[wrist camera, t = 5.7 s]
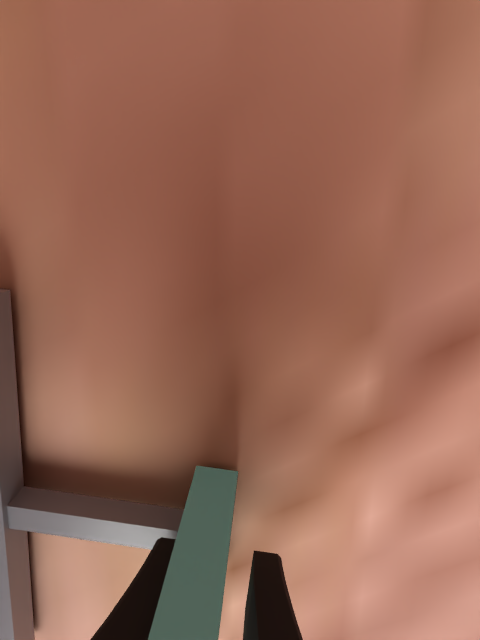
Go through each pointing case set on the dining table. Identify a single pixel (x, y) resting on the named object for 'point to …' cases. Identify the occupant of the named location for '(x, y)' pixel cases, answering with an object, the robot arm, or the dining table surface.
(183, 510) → the frame with teal handle
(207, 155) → the dining table surface
